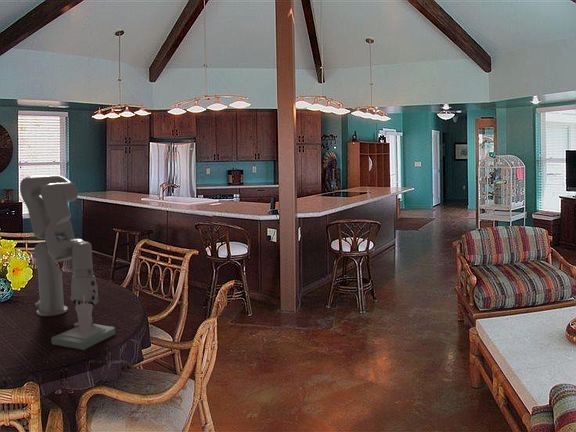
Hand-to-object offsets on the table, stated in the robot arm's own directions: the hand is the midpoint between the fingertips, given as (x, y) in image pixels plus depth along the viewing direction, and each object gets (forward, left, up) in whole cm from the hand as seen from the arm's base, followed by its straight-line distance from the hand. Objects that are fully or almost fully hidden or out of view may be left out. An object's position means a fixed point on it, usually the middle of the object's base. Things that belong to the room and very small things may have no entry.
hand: (85, 316), depth 216 cm
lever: (0, 0, -3) cm, 3 cm away
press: (+6, -9, -4) cm, 12 cm away
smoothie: (+9, -10, -1) cm, 14 cm away
